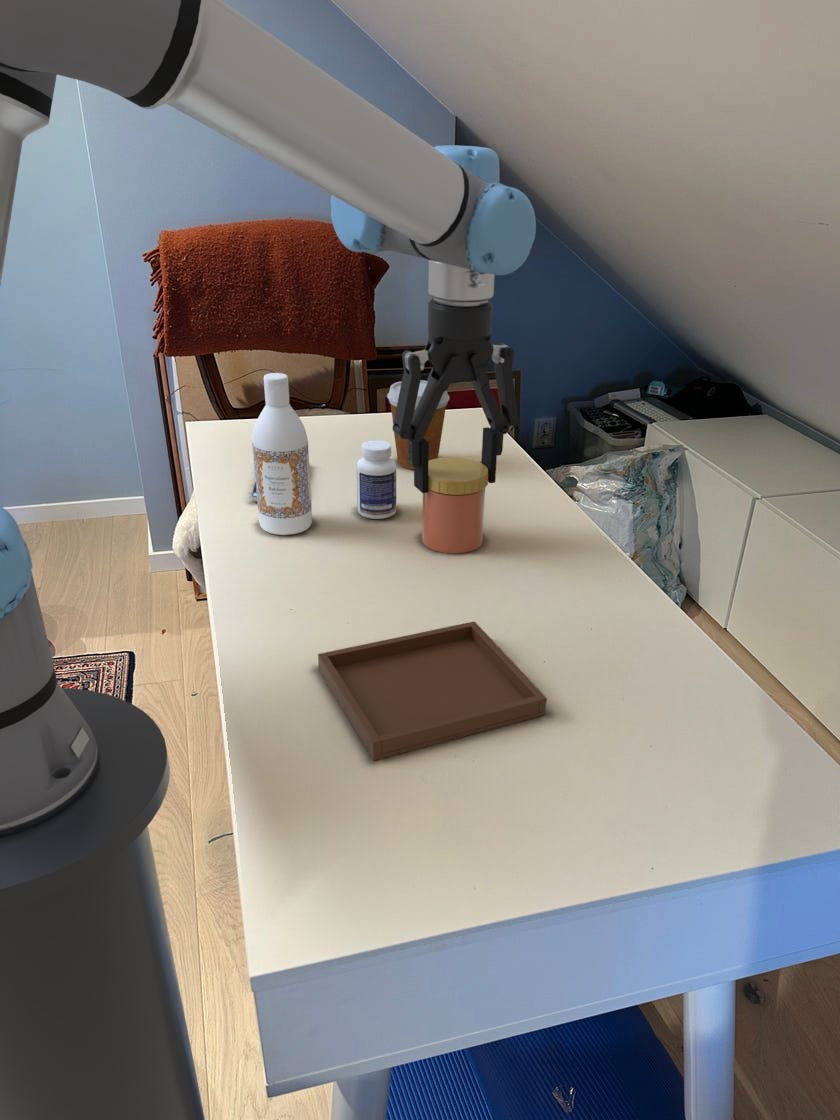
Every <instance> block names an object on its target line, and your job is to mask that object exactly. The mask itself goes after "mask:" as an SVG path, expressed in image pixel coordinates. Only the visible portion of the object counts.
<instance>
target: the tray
mask: <svg viewBox="0 0 840 1120" xmlns="http://www.w3.org/2000/svg"><path fill="white" fill-rule="evenodd" d="M317 660H318V663H317V664H318V671H319V673H320V675H321V676H322V678H323V680H324V682H325V683H326V685H327V686H328V688H329V690H330V691H331V693H332V694H333V696H334V697H335V700H336V701H337V703H338V705H339V706H340V708H341V710H342V711H343V713H344V715H345V716H346V717H347V719H348V721H349V722H350V724H351V726H352V727H353V729H354V731H355V732H356V734H357V736H358V737H359V739H360V741H361V742H362V745H364V747H365V749H366V750H367V753H368V754H369V756H370V757H371V759H372V760H373V761H378V760H381V759H384V758H389V757H393V756H395V755H401V754H403V753H407V752H412V751H415V750H419V749H422V748H426V747H430V746H434V745H438V744H441V743H445V742H449V741H453V740H456V739H460V738H463V737H468V736H472V735H475V734H479V733H483V732H487V731H490V730H493V729H498V728H501V727H504V726H509V725H512V724H517V723H520V722H524V721H527V720H531V719H535V718H539V717H542V716H545V715H546V709H547V701H548V700H547V699H548V698H547V697H546V696H545V695H544V694H543V692H541V690H540V689H539V688H538V687H537V686H536V685H535V684H534V683H533V682H532V681H531V680H530V679H529V677H527V676H526V674H525V673H524V672H523V671H522V670H521V669H520V668H519V666H517V665H516V664H515V663H514V661H513V660H512V659H511V658H510V657H509V656H508V655H507V654H506V653H505V652H504V650H502V649H501V648H500V647H499V646H498V644H497V643H496V642H495V641H494V640H493V639H492V638H491V637H490V636H489V635H488V634H487V633H486V631H484V630H483V629H482V627H481V626H480V625H479V624H478V623H477V622H476V621H470V622H465V623H464V622H463V623H460V624H456V625H455V624H454V625H450V626H445V627H441V628H436V629H431V630H426V631H422V632H416V633H413V634H408V635H402V636H398V637H393V638H387V639H383V640H378V641H374V642H369V643H364V644H359V645H355V646H351V647H345V648H340V649H335V650H331V651H327V652H321V653H318V654H317Z"/></svg>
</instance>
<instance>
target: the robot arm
mask: <svg viewBox="0 0 840 1120" xmlns="http://www.w3.org/2000/svg"><path fill="white" fill-rule="evenodd" d="M57 76H61V77H65V78H69V79H74V80H76V81H81V82H85V83H87V84H90V85H93V86H96V87H99V88H102V89H104V90H107V91H110V92H111V93H113V94H115V95H118V96H120V97H122V98H123V99H125V100H127V101H129V102H131V103H132V104H135V105H136V106H138V107H140V108H142V109H144V110H154V109H157V108H159V107H161V106H164V105H165V104H166V105H169V106H170V107H172V108H174V109H175V110H177V111H179V112H180V113H182V114H184V115H186V116H188V117H190V118H191V119H193V120H195V121H197V122H198V123H201V124H202V125H204V126H206V127H208V128H210V129H211V130H213V131H215V132H217V133H219V134H221V135H222V136H223V137H226V138H227V139H229V140H231V141H233V142H235V143H236V144H238V145H240V146H242V147H244V148H246V149H248V150H249V151H251V152H253V153H255V154H257V155H258V156H260V157H262V158H264V159H266V160H267V161H269V162H271V163H272V164H274V165H276V166H278V167H280V168H282V169H283V170H286V171H287V172H289V173H290V174H292V175H294V176H296V177H298V178H300V179H302V180H304V181H305V182H307V183H309V184H311V185H312V186H314V187H316V188H318V189H319V190H321V191H323V192H325V193H327V194H329V195H330V206H331V209H330V210H331V211H330V212H331V214H330V216H331V222H332V225H333V229H334V231H335V234H336V236H337V238H338V240H339V241H340V242H341V244H342V245H343V246H344V247H345V248H346V249H348V251H351V252H354V253H371V254H377V253H378V252H395V253H399V254H403V255H407V256H412V257H415V258H419V259H424V260H428V283H427V285H428V286H427V288H428V289H427V294H428V295H429V296H430V297H432V298H431V299H430V300H429V301H428V303H427V335H428V336H427V337H428V339H427V343H426V345H425V347H424V349H422V350H416V351H413V352H412V351H411V350H408V349H407V350H404V351H403V352H402V355H401V358H402V359H401V360H402V366H403V373H402V377H401V381H402V383H401V388H400V393H399V398H398V403H397V408H396V413H395V418H394V423H393V422H392V431H393V433H394V432H395V433H396V434H397V435H398V436H400V437H401V438H402V439H407V440H408V461H409V463H410V464H411V465H412V466H413V467H414V469H413V486H414V487H415V489H417V490H418V491H419V492H420V493H422V494H423V493H428V459H429V442H428V441H426V440H425V439H424V438H423V437H424V435H425V433H426V431H427V428H428V426H429V424H430V422H431V420H432V417H433V415H434V413H435V411H436V409H437V406H438V404H439V402H440V400H441V397H442V395H443V393H444V392H445V391H447V392H448V390H449V387H450V385H451V384H457V383H460V382H465V383H466V382H467V383H471V384H472V387H473V390H474V392H475V394H476V397H477V399H478V402H479V404H480V407H481V408H482V411H483V413H484V416H485V418H486V420H487V423H488V425H489V426H490V427H488V426H486V427H482V439H481V440H482V441H481V443H482V444H481V462H480V463H482V464H484V465H485V466H486V467H487V468H488V473H489V474H488V483H489V484H495V483H496V479H497V475H496V474H497V461H498V456H502V453H503V451H504V450H503V449H504V435H506V434H508V432H509V427H511V426H512V427H515V426H517V425H518V424H519V420H520V419H519V412H518V403H517V397H516V389H515V381H514V374H513V373H514V372H513V362H514V357H515V349H513V347H511V346H509V345H508V344H505V343H504V342H500V343H498V344H493V343H492V340H491V335H492V333H493V319H494V318H493V317H494V305H493V304H492V302H491V301H490V300H491V299H492V298H493V297H494V295H495V276H506V275H509V274H512V273H514V272H515V271H517V270H518V269H519V268H521V267H522V265H524V263H525V262H526V260H527V259H528V257H529V255H530V253H531V252H530V251H531V250H532V248H533V244H534V242H535V239H536V234H537V233H536V232H537V230H536V229H537V221H536V214H535V210H534V207H533V205H532V203H531V201H530V199H529V198H528V196H527V195H526V194H525V193H524V192H523V191H521V190H520V189H518V188H516V187H511V186H507V185H506V184H504V183H502V182H500V181H501V180H500V158H499V155H498V153H497V152H496V151H495V150H494V149H492V148H489V147H485V146H483V147H482V146H473V145H454V144H453V145H450V144H447V145H446V144H444V145H443V144H442V145H435V146H432V145H431V144H429V143H428V142H427V141H425V140H424V139H422V138H421V137H420V136H418V135H417V134H415V133H414V132H412V131H411V130H409V129H408V128H406V127H405V126H403V124H401V123H399V122H398V121H396V120H395V119H393V118H392V117H391V116H389V115H388V114H386V113H385V112H384V111H382V110H381V109H379V108H378V107H376V106H375V105H373V104H372V103H370V102H369V101H367V100H366V99H365V98H363V97H362V96H360V95H359V94H358V93H356V92H355V91H353V90H352V89H350V88H349V87H348V86H346V85H345V84H343V83H342V82H340V81H339V80H337V79H336V78H334V77H333V76H332V75H330V74H329V73H327V72H326V71H325V70H323V69H321V68H320V67H319V66H317V65H315V64H314V63H313V62H312V61H310V60H308V59H307V58H306V57H305V56H303V55H301V54H300V53H298V52H297V51H296V50H294V49H293V48H291V47H290V46H289V45H287V44H285V43H284V42H283V41H281V40H280V39H278V38H277V37H275V35H272V34H271V33H269V32H268V31H267V30H265V29H264V28H262V27H261V26H259V25H258V24H257V23H256V22H254V21H253V20H252V19H249V18H248V17H247V16H245V15H243V14H242V13H241V12H239V11H238V10H236V9H235V8H234V7H232V5H231V6H230V5H229V4H228V3H226V2H225V1H224V0H0V286H1V283H2V278H3V272H4V265H5V260H6V259H5V257H6V251H7V245H8V238H9V232H10V226H11V225H10V224H11V219H12V213H13V206H14V200H15V199H14V198H15V192H16V186H17V179H18V174H19V168H20V160H21V154H22V146H23V142H24V140H26V138H27V137H28V136H29V135H31V134H33V133H35V132H37V131H39V130H40V129H42V128H44V127H46V126H48V125H49V124H50V119H51V118H50V117H51V112H52V106H53V100H54V93H55V88H56V81H57ZM490 359H491V360H492V362H494V363H493V367H494V375H495V383H496V390H497V394H498V403H499V405H498V403H497V401H496V397H495V395H494V393H493V391H492V388H491V385H490V380H489V377H488V375H487V372H486V370H485V369H486V368H485V367H486V365H487V364H488V362H489V360H490ZM427 362H428V363H429V364H430V366H431V370H430V372H429V374H428V377H427V379H426V381H427V385H426V388H425V390H424V392H423V394H422V397H421V399H420V401H419V403H418V405H417V408H416V410H415V412H414V409H415V405H416V400H417V395H418V390H419V385H420V380H422V371H424V370H425V366H426V363H427ZM32 569H33V561H32V557H31V554H30V549H29V548H28V545H27V543H26V540H25V539H24V537H23V535H22V532H21V529H20V527H19V525H18V523H17V520H15V518H14V517H13V515H12V514H11V513H10V512H9V511H8V510H7V509H5V508H4V507H3V506H1V505H0V838H1V837H6V836H9V835H13V834H16V833H19V832H22V831H25V830H27V829H30V828H32V827H35V826H37V825H39V824H41V823H43V822H46V821H47V820H49V819H51V818H53V817H55V816H56V815H58V814H59V813H61V812H63V811H64V810H65V809H67V808H68V807H70V806H71V805H72V804H73V803H74V802H76V801H77V800H78V799H79V798H80V797H81V796H82V795H83V794H84V793H85V792H86V790H87V789H88V788H89V787H90V785H91V784H92V782H93V780H94V779H95V777H96V774H97V771H98V768H99V753H98V748H97V744H96V740H95V738H94V736H93V733H92V731H91V729H90V727H89V725H88V724H87V722H86V721H85V720H84V718H83V717H82V715H81V714H80V713H79V711H78V710H77V709H76V707H75V706H74V704H73V703H72V702H71V700H70V699H69V698H68V696H67V695H66V693H65V692H64V691H63V689H62V688H63V687H61V685H60V684H59V682H58V678H57V673H56V670H55V665H54V660H53V656H52V651H51V648H50V643H49V639H48V634H47V631H46V627H45V622H44V617H43V613H42V610H41V606H40V600H39V597H38V593H37V588H36V584H35V580H34V575H33V571H32Z"/></svg>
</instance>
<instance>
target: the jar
mask: <svg viewBox="0 0 840 1120" xmlns="http://www.w3.org/2000/svg"><path fill="white" fill-rule="evenodd" d="M485 496H486V488H484V489H483V490H481V491H479V492H476V493H472V494H464V495H451V494H443V493H438V492H435V491H432V490H429V489H428V493H422V512H421V513H422V516H421V518H422V520H421V541H422V543H423V545H424V546H425V547H427V548H429V549H430V550H432V551H434V552H435V551H436V552H439V553H444V554H463V553H469V552H473V551H474V550H477V549H478V548H479V547H481V546H482V544H483V536H484V535H483V534H484V516H485V515H484V514H485V502H486V501H485V498H486V497H485Z"/></svg>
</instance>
